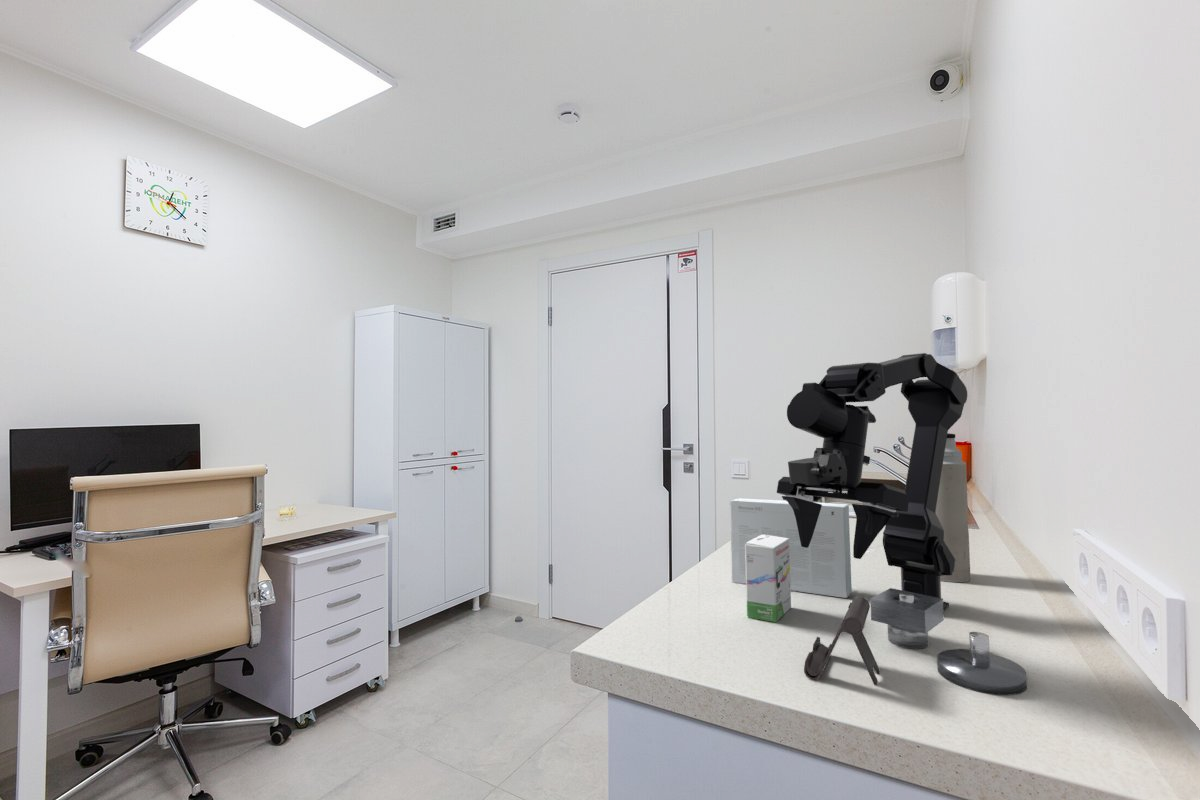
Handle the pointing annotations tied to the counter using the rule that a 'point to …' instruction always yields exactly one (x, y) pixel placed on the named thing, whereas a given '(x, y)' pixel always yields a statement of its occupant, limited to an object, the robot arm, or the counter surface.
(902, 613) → the grey square ring block
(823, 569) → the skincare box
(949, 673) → the hub
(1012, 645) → the counter surface
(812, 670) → the portable electronic device stand
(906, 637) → the threaded levelling foot
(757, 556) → the ink box
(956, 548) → the thermos bottle
